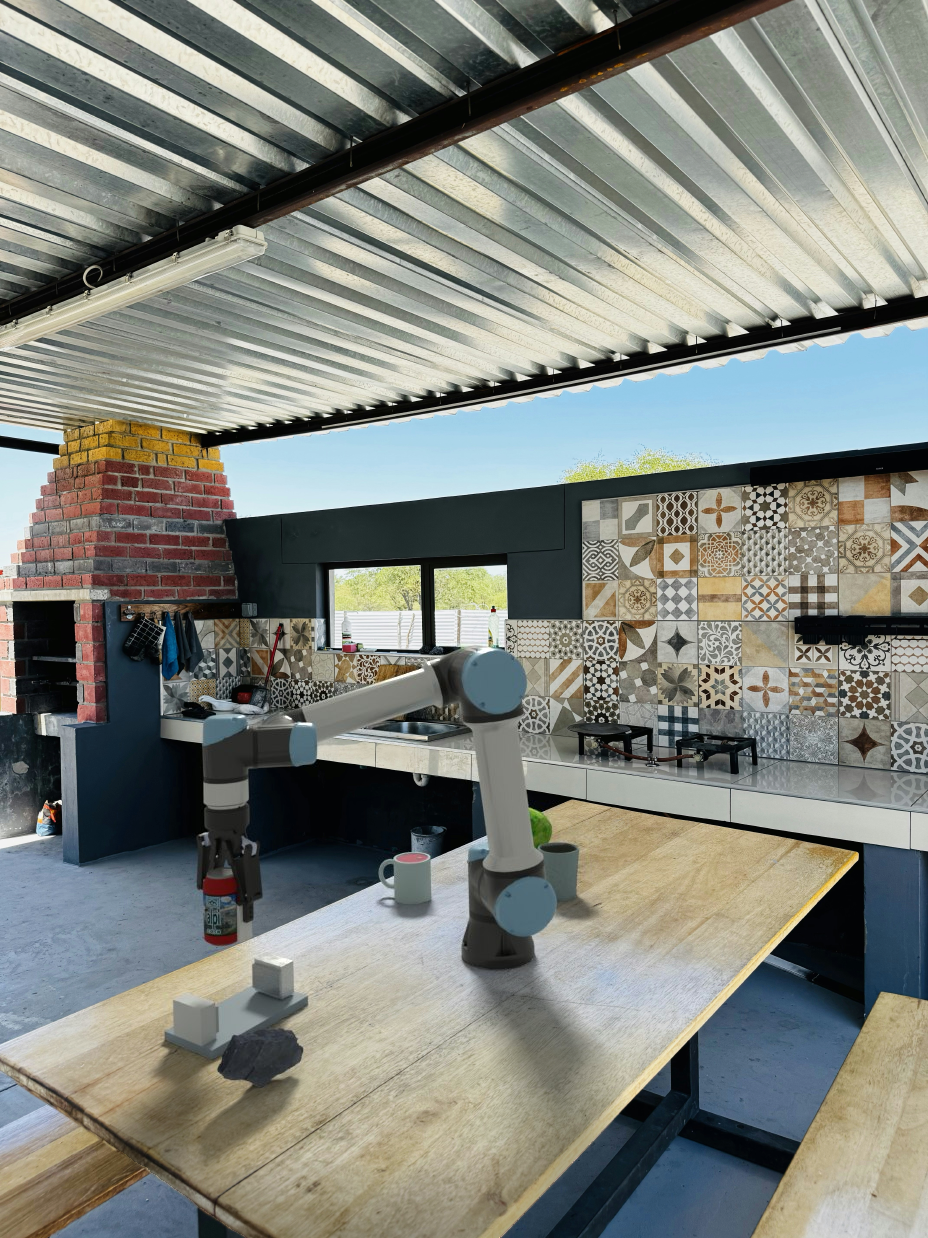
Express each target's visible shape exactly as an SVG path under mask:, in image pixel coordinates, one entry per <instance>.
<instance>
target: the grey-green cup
mask: <svg viewBox="0 0 928 1238" xmlns="http://www.w3.org/2000/svg"><path fill="white" fill-rule="evenodd" d="M538 850H539V851H540V852H541V853H542V854H543V859H544V865H545V873H546V880H547V881H548V882H549V883H550V884H551V886H552V888H553V890H554V892H555V894H556V899H557V903H558V902H559V903H560V902H563V903H564V902H570V901H572V900H574V899H575V898H576V897H577V895H578V894H577V892H578V889H577V886H578V872H579V871H578V869H579V859H580V858H579V856H580V847H579V846H578V845H576V844H575V843H570V842H564V841H563V842H560V841H557V842H556V841H555V842H548V843H545V844H542V845H540V846H539V847H538Z"/></svg>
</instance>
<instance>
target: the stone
mask: <svg viewBox="0 0 928 1238" xmlns="http://www.w3.org/2000/svg"><path fill="white" fill-rule="evenodd" d="M298 1039H299V1038H298V1037H297V1035H296V1034H295V1033H294V1031H293V1030H292V1029H284V1028H281V1027H279V1028H266V1029H260V1030H257V1031H254V1032H250V1033H247V1034H243V1035H233V1036H232V1038H231V1040H230V1042H229V1044H228V1046H227V1048H226V1050H225V1052H224V1053H223V1054H221V1061H220V1063H219V1064H218V1066H217V1068H216V1070H217V1073H219V1074H220V1075H221V1076H222V1077H223V1078H224V1079H225V1080H229V1081H241V1080H242V1081H245V1082H249V1083H251V1084H253V1085H254V1086H256V1087H258V1088H262V1087H265V1086H266V1085H268V1083H269V1082H271V1080H273V1079H274V1078H275V1077H276V1076H278V1075H281V1074H284V1073H285V1072H287V1071H289V1070H290V1069H291V1068H294V1067H295V1066H296V1065H298V1064H300V1062H301V1061H302V1059H303V1058H302V1057H303V1053H304V1050H305V1049H304V1046H302V1045H300V1043H299V1042H298Z"/></svg>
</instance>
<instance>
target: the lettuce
mask: <svg viewBox="0 0 928 1238" xmlns="http://www.w3.org/2000/svg"><path fill="white" fill-rule="evenodd" d="M529 814H530V822H531V829H532V837H533V844H534V847H535V848H536V849H537V850H538V847H539V846H540V845H542V844H545V843H550V840H551V838H552V834H553V825H552V824H551V822H550V820H549V819H548V817H547V816H546V815H545V814H544V813H543V812H541V811H539V810H537V809H533V808H532V807H529Z"/></svg>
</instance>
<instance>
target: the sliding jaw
mask: <svg viewBox="0 0 928 1238" xmlns="http://www.w3.org/2000/svg"><path fill="white" fill-rule="evenodd" d="M253 960H254V963H251V973H252V974H251V975H252V986H253V988H255V991H258V992H261V993H264V994H267V995H270V996H273V997H276V998H279V999H282V1000H283V999H284V998H286V997H288V996H290V995H292V994H293V993H294V991H295V975H294V970H295V969H294V960H292V959H289V958H285V957H283V956H280V955H279V956H278V955H276V954H272V953H269V952H265V953H263V954H261V955H259V956H257V957H255V958H254V959H253Z"/></svg>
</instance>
